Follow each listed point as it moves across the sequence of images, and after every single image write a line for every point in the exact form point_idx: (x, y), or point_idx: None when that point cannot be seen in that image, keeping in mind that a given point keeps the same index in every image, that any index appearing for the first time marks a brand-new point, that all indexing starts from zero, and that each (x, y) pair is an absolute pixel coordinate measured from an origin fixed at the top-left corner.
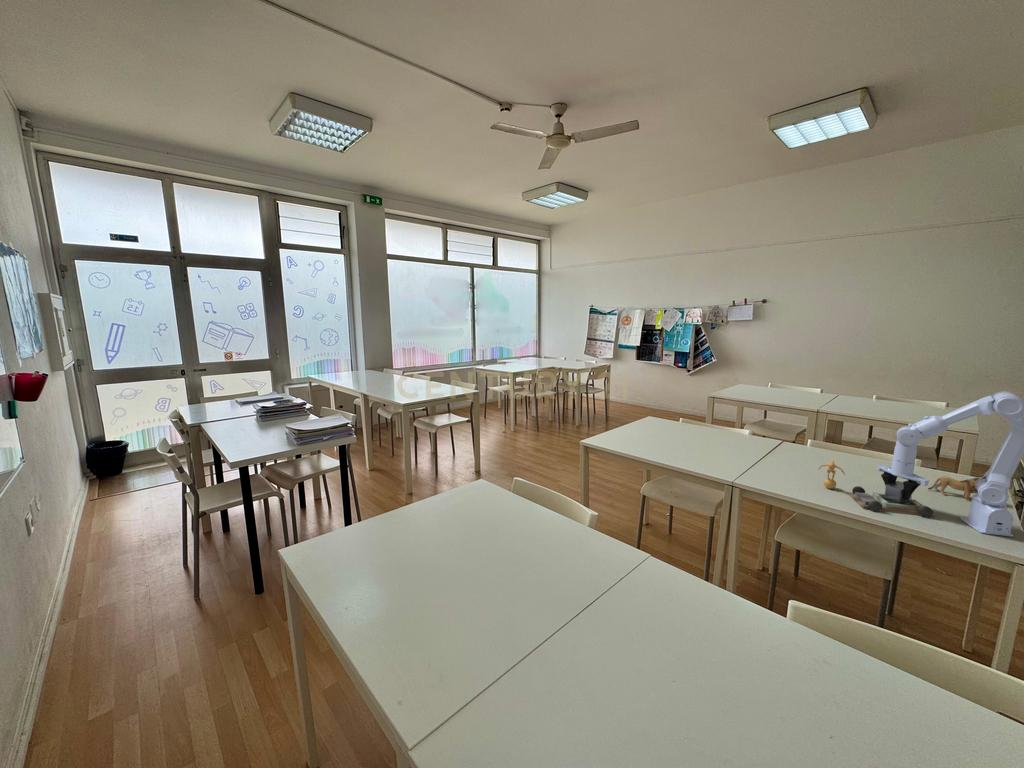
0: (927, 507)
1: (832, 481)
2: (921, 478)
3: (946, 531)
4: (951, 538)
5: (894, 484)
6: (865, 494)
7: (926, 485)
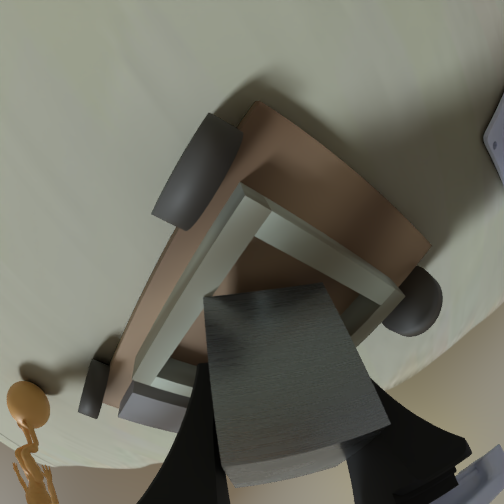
0: (432, 324)
1: (38, 425)
2: (480, 502)
3: (455, 315)
4: (460, 336)
5: (265, 477)
6: (148, 408)
7: (488, 453)
